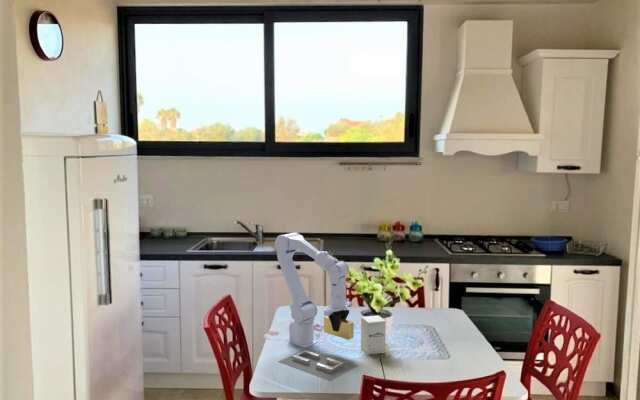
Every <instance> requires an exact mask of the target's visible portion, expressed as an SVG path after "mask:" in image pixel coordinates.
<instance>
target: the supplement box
mask: <svg viewBox="0 0 640 400" xmlns="http://www.w3.org/2000/svg"><path fill="white" fill-rule="evenodd" d="M386 322H387V321H386V320H385V319H384V318H383V317H381V316H380V315H368V316H361V318H360V349H361V350H362V351H364V353H365V354H366V355H376V354H385V353H386Z"/></svg>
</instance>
